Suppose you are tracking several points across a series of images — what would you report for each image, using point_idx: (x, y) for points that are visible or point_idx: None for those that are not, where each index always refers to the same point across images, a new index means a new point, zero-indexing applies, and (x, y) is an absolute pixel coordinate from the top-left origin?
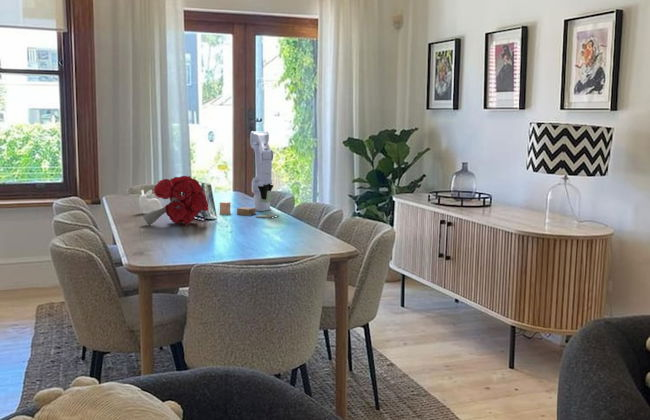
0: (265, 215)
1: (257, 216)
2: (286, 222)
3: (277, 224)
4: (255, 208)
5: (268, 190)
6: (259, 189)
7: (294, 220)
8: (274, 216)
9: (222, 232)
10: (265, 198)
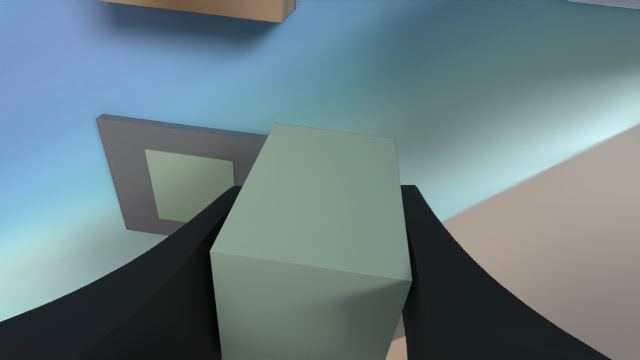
0: (191, 174)
1: (102, 133)
2: None
3: (21, 303)
4: (279, 21)
5: (409, 350)
6: (67, 301)
7: None
8: None
9: None
10: None
